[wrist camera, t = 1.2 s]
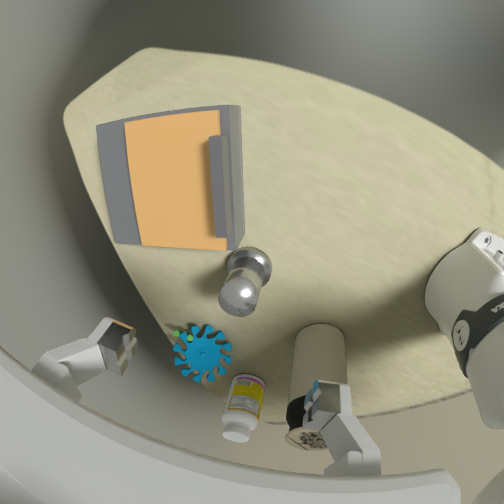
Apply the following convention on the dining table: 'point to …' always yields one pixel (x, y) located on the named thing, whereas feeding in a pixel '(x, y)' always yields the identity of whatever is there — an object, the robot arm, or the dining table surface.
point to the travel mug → (313, 378)
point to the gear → (201, 352)
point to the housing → (120, 182)
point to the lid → (180, 180)
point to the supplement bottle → (242, 407)
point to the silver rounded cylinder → (244, 281)
